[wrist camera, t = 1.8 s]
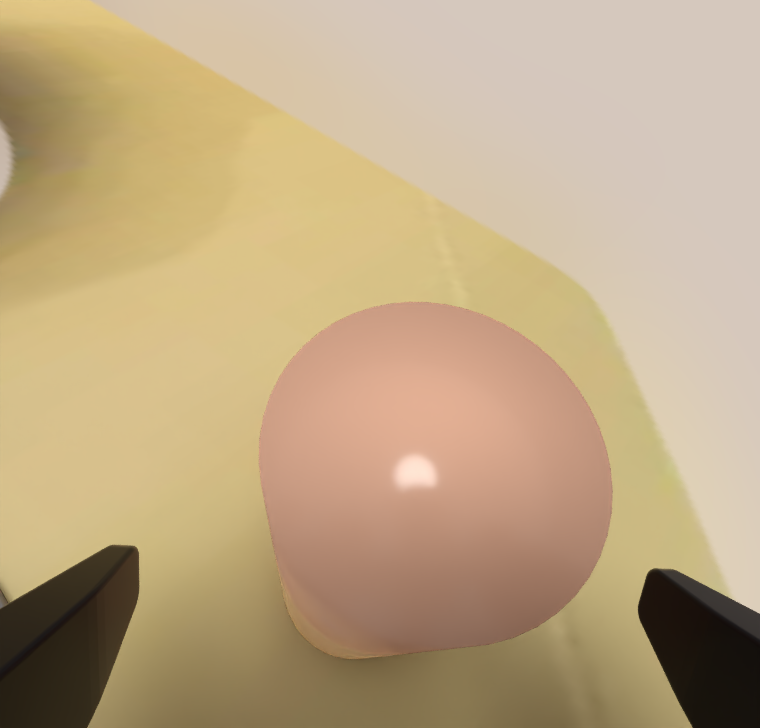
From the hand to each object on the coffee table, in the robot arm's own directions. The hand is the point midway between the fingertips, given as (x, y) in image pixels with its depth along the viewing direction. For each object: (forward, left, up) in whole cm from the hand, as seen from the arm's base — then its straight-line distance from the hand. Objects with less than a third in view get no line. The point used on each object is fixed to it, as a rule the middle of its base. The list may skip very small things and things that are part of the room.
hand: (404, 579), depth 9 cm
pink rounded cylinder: (+1, -1, -9) cm, 9 cm away
